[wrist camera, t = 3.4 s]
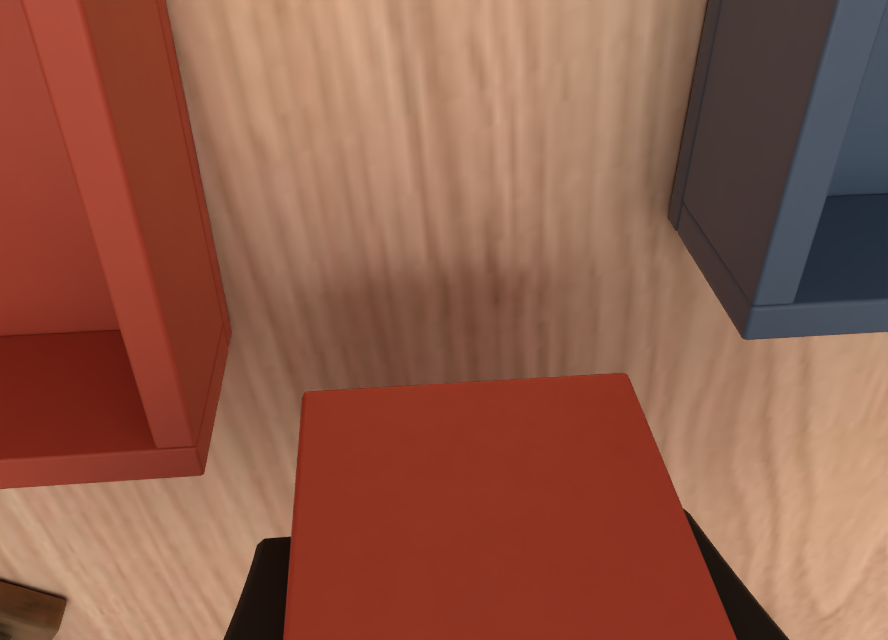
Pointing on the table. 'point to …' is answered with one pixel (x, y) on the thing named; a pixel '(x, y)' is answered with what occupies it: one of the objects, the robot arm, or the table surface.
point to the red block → (491, 517)
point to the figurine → (28, 614)
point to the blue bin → (789, 165)
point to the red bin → (102, 251)
